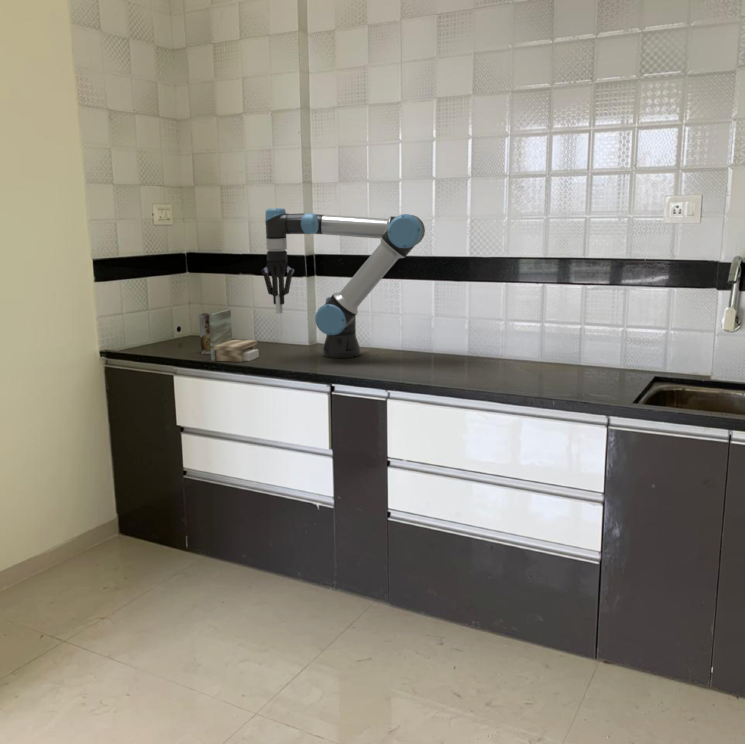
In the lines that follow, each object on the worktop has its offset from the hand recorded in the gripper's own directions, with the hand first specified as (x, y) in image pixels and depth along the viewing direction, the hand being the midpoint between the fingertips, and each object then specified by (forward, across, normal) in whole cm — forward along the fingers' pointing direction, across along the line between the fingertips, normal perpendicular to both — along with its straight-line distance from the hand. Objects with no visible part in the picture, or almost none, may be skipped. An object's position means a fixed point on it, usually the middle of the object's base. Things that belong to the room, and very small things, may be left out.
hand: (279, 313), depth 282 cm
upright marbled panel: (+18, +19, 0) cm, 26 cm away
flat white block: (+18, +17, 0) cm, 25 cm away
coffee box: (+18, +33, -10) cm, 39 cm away
